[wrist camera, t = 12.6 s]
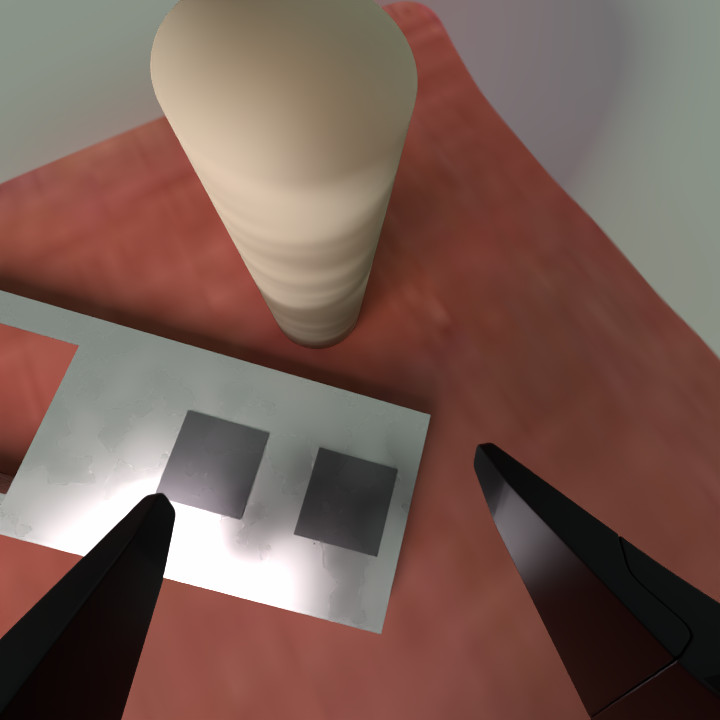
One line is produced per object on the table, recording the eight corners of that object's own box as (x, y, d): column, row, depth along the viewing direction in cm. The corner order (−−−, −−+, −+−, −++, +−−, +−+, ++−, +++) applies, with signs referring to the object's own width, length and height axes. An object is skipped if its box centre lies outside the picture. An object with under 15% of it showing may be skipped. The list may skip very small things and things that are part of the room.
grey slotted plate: (374, 608, 16) (381, 635, 14) (-145, 470, 15) (-220, 477, 13) (419, 415, 18) (431, 414, 16) (-34, 284, 17) (-84, 265, 15)
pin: (317, 366, 18) (285, 232, 5) (256, 307, 18) (89, 48, 6) (375, 308, 19) (467, 80, 6) (317, 253, 19) (292, -68, 7)
